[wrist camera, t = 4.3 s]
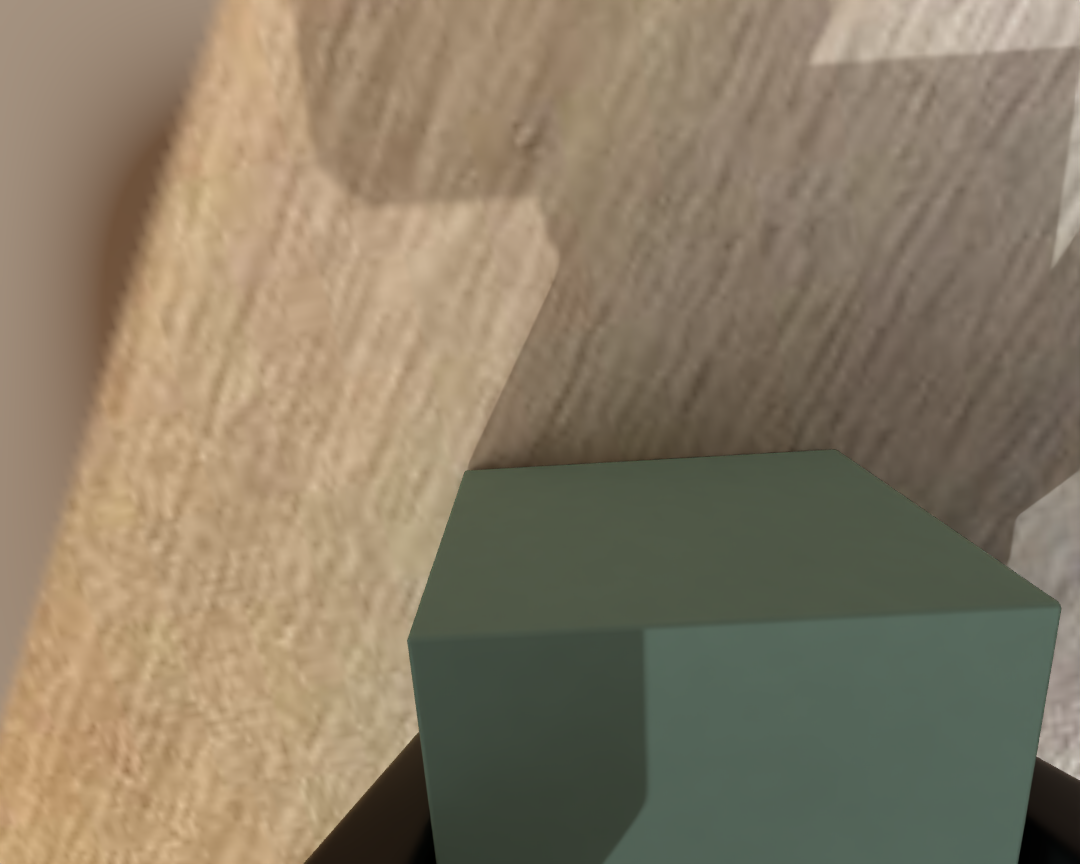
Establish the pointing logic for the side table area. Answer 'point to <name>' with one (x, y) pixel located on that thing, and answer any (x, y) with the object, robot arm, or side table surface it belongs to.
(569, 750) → the green rectangular block
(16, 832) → the side table surface
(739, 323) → the side table surface
